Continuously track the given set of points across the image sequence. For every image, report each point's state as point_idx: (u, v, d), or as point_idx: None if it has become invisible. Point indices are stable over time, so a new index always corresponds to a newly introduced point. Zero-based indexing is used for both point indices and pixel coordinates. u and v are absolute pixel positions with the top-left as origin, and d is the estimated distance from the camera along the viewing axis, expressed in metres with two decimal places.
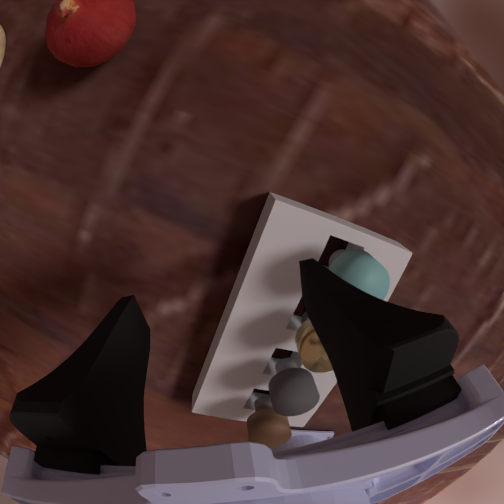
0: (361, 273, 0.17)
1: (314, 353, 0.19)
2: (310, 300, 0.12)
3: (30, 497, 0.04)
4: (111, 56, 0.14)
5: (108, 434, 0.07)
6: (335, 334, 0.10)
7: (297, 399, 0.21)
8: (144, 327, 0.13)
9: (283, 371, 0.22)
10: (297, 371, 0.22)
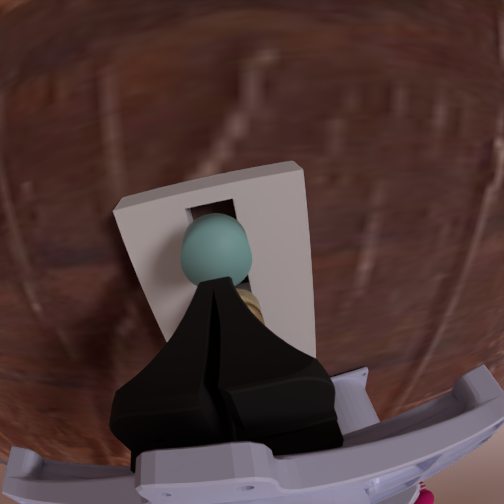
0: (197, 249, 0.15)
1: None
2: None
3: (30, 497, 0.04)
4: None
5: (223, 425, 0.07)
6: None
7: None
8: None
9: None
10: None
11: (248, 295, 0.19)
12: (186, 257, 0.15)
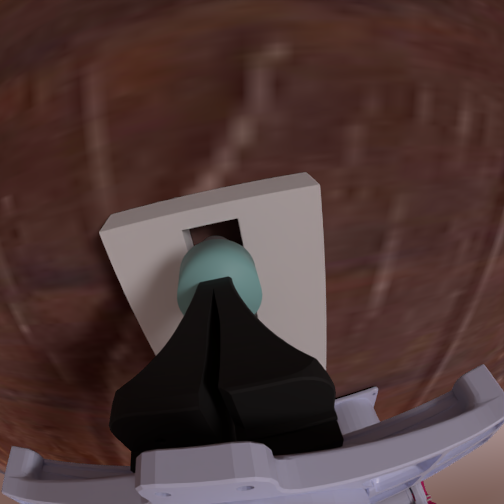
0: (197, 285, 0.13)
1: None
2: None
3: (30, 497, 0.04)
4: None
5: (223, 425, 0.07)
6: None
7: None
8: None
9: None
10: None
11: None
12: (183, 294, 0.13)
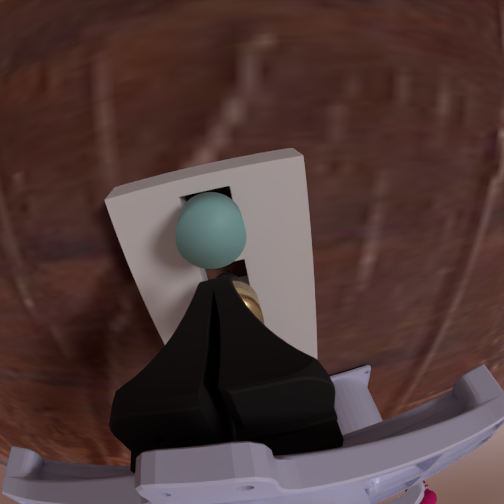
0: (192, 225, 0.15)
1: None
2: None
3: (30, 497, 0.04)
4: None
5: (223, 425, 0.07)
6: None
7: None
8: None
9: None
10: None
11: (245, 287, 0.18)
12: (181, 234, 0.15)
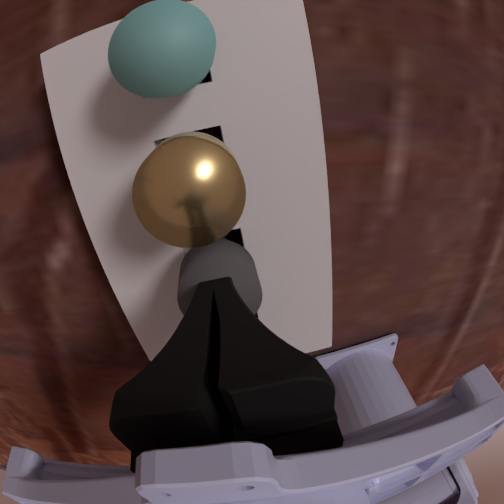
0: (134, 29, 0.08)
1: (161, 209, 0.10)
2: None
3: (30, 497, 0.04)
4: None
5: (223, 425, 0.07)
6: None
7: None
8: None
9: (184, 257, 0.14)
10: (201, 247, 0.13)
11: (216, 139, 0.10)
12: (116, 43, 0.08)
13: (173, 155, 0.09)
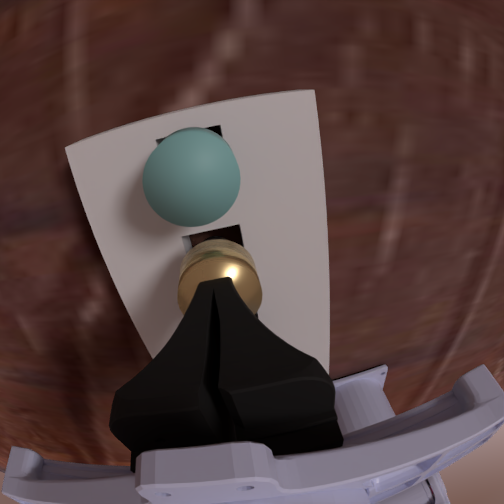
0: (165, 163, 0.10)
1: None
2: None
3: (30, 497, 0.04)
4: None
5: (223, 425, 0.07)
6: None
7: None
8: None
9: None
10: None
11: (238, 248, 0.14)
12: (150, 175, 0.11)
13: (209, 272, 0.12)
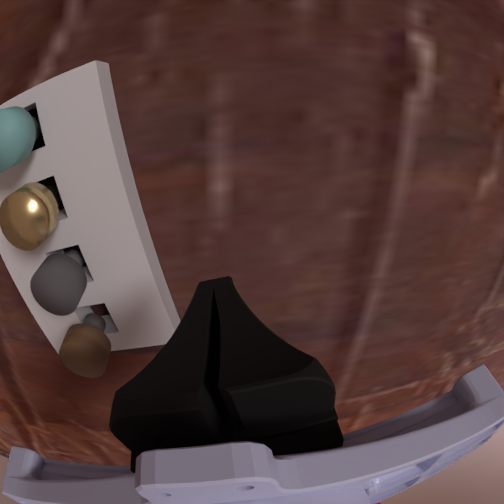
0: None
1: (11, 229, 0.14)
2: None
3: (30, 497, 0.04)
4: None
5: (223, 425, 0.07)
6: None
7: (51, 290, 0.16)
8: None
9: None
10: (46, 258, 0.17)
11: (39, 187, 0.15)
12: None
13: (11, 201, 0.13)
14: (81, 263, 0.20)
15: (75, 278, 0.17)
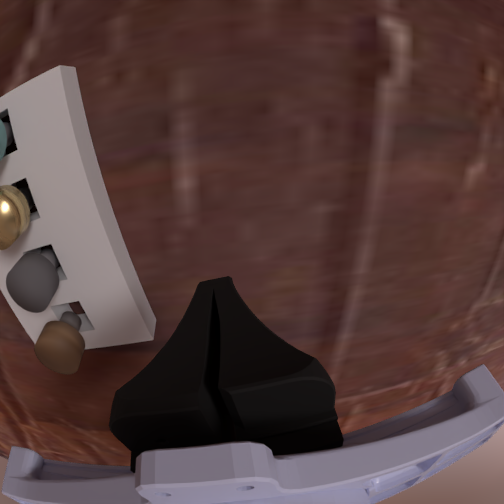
0: None
1: None
2: None
3: (30, 497, 0.04)
4: None
5: (223, 425, 0.07)
6: None
7: (24, 288, 0.16)
8: None
9: None
10: (21, 257, 0.17)
11: (10, 189, 0.14)
12: None
13: None
14: (55, 262, 0.19)
15: (46, 276, 0.17)
